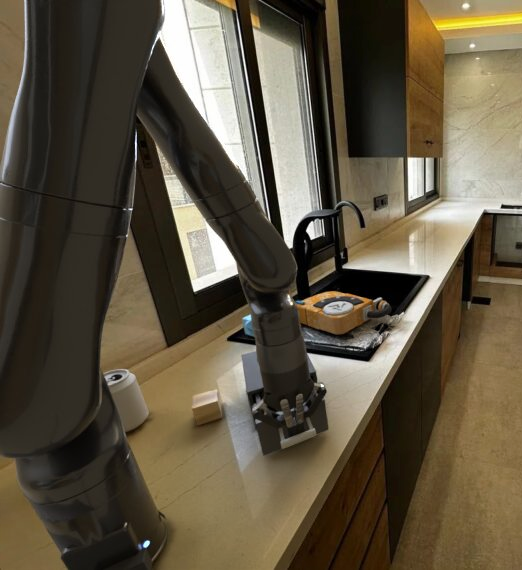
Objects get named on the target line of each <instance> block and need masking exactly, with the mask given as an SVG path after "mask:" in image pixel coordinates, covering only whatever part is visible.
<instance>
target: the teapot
mask: <svg viewBox="0 0 522 570" xmlns="http://www.w3.org/2000/svg"><path fill="white" fill-rule="evenodd" d="M241 320H242V325H243V330H244V334H245V335H247V336H251V337H254V338H255V336H254V331H253V327H252V321H251V313H250V314H249V315H246V316H244V317H242V318H241Z"/></svg>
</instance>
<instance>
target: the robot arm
mask: <svg viewBox="0 0 522 570" xmlns="http://www.w3.org/2000/svg"><path fill="white" fill-rule="evenodd" d="M23 1H24V51H23V64H22V73H21V78H20V82H19V85H18V89H17V92H16V96H15V100H14V103H13V107H12V110H11V114H10V117H9V122H8V126H7V131H6V135H5V140H4V146H3V150H2V156H1V161H0V457H1V458H6V459H13V461H14V466H15V467H14V468H15V475H16V482H17V485H18V487H19V489H20V490H21V492H22V493H23V495H24V497H25V499H26V500H27V501H28V503H29V504H30V505H31V507H32V509H33V510H34V513H36V515H37V517H38V519H39V520H40V522H41V523H42V525H43V527H44V529H45V530H46V531H47V533H48V534H49V536H50V537H51V539H52V541H53V543H54V544H55V546H56V547H57V549H58V550H59V552H60V553H61V554H60V560H61V561H62V563H63V564H64V567H65V568H66V569H67V570H152V568H153V564H154V562H156V560H157V559H158V557H159V556H160V555H161V553H162V551H163V550H164V548H165V547H166V543H167V540H168V528H167V526H166V523H165V522H164V521H163V519H164V520H167V518H166V515H165V514H164V513H163V512H161V511H160V510H159V509H158V507H157V505H156V503H155V500H154V498H153V495H152V494H151V491H150V490H149V486H148V484H147V482H146V480H145V477H144V475H143V473H142V469H141V468H140V466H139V464H138V461H137V458H136V456H135V453H134V452H133V450H132V447H131V445H130V442H129V440H128V437H127V434H126V433H125V430H124V427H123V423H122V420H121V417H120V414H119V411H118V409H117V406H116V404H115V401H114V399H113V396H112V394H111V391H110V389H109V386H108V384H107V381H106V379H105V377H104V374H103V373H104V372H103V370H102V368H101V353H102V351H101V350H102V338H103V330H104V325H105V320H106V316H107V312H108V309H109V306H110V304H111V301H112V297H113V295H114V291H115V288H116V285H117V282H118V279H119V274H120V271H121V267H122V263H123V258H124V254H125V251H126V250H125V248H126V246H127V241H128V238H129V231H130V224H131V219H132V212H133V207H134V201H135V188H136V187H135V186H136V174H137V118H138V119H139V120H140V123H142V125H143V127H145V129H146V131H147V133H148V134H149V135H150V137H151V138H152V140H153V142H154V143H155V145H156V146H157V148H158V149H159V151H160V153H161V154H162V156H163V157H164V159H165V160H166V162H167V163H168V166H169V167H170V168H171V170H172V171H173V173H174V175H175V177H176V178H177V180H178V181H179V184H180V185H181V186H182V188H183V189H184V190H185V192H186V194H187V195H188V196H189V198H190V200H191V201H192V203H193V204H194V206H195V207H196V208H197V211H199V212H200V214H201V216H202V217H203V219H204V220H205V222H206V224H207V225H208V226H209V227H210V228H211V230H212V231H213V232H214V233H215V234H216V235H217V236H218V237H219V238H220V239H221V240H222V241H223V243H224V245H225V246H226V248H227V249H228V251H229V253H230V255H231V256H232V258H233V259H234V261H235V262H236V263H235V265H236V270H237V274H238V278H239V281H240V285H241V287H242V291H243V294H244V296H245V299H246V302H247V306H248V308H249V313H250V314H251V321H252V327H253V331H254V336H255V337H254V336H253V337H254V340H255V351H256V354H257V361H258V364H259V368H260V373H261V378H262V383H263V387H264V392H263V394H262V398H263V399H262V400H261V401H260V402H259V403H258V404H253V405H252V407H251V408H250V410H251V409H252V412H251V415H252V414H253V416H252V419H253V418H255V419H257V420H259V421H261V422H264V423H266V424H268V425H270V426H272V427H275V428H277V429H279V428H281V427H282V426H286V427H287V432H288V436H289V438H290V437H293V436H295V435H298V434H300V433H303V432H305V428H304V422H303V421H304V419H305V418H306V417H311V416H312V415H313V414H314V412H315V411H316V409H317V407H318V406H319V404H320V402H321V401H322V399H323V398H324V399H325V396H326V395H327V393H328V389H327V388H326V385H325V384H324V383H323V382H322V381H319V382H318V384H317V383H314V382H313V380H312V378H311V377H310V372H309V366H308V359H307V354H308V352H307V346H306V341H305V337H304V334H303V329H302V323H301V322H300V316H299V311H298V307H297V305H296V303H295V302H296V301H295V299H294V298H293V296H292V294H291V292H290V288H291V287H292V286H293V285H294V284H295V283H296V282H295V281H296V279H297V276H298V264H297V261H296V259H295V256H294V254H293V252H292V251H291V249H290V247H289V246H288V244H287V243H286V241H285V240H284V239H283V237H282V235H281V234H280V233H279V231H278V230H277V229H276V227H275V226H274V224H273V223H272V222H271V220H270V219H269V217H268V216H267V214H266V213H265V211H264V209H263V207H262V205H261V203H260V201H259V199H258V196H257V195H256V193H255V192H254V190H253V188H252V186H251V184H250V183H249V180H248V179H247V176H246V175H245V173H244V172H243V170H242V168H241V167H240V165H239V164H238V162H237V161H236V159H235V157H234V156H233V155H232V153H231V152H230V150H229V149H228V147H227V146H226V145H225V144H224V142H223V141H222V140H221V138H220V137H219V136H218V134H217V133H216V131H215V130H214V129H213V128H212V127H211V125H210V123H208V120H206V118H205V117H204V116H203V114H202V113H201V111H200V109H199V108H198V107H197V105H196V104H195V102H194V100H193V99H192V97H191V95H190V94H189V92H188V90H187V89H186V87H185V85H184V84H183V81H182V79H181V78H180V76H179V74H178V72H177V70H176V67H175V65H174V63H173V61H172V59H171V56H170V53H169V51H168V49H167V46H166V43H165V42H164V39H163V36H162V34H161V33H162V30H163V27H164V23H165V20H166V19H165V18H166V8H165V7H166V6H165V1H164V0H23ZM311 392H312V394H311V395H310V393H311ZM309 395H310V397H309ZM308 397H309V398H308ZM307 398H308V400H307ZM306 400H307V402H306ZM305 402H306V403H305ZM304 403H305V405H304V407H303V404H304ZM267 405H268V406H270V407H272V408H274V409H275V410H277V411H280V412H283V414H284V415H283V416H280V415H279V414H277V413H275V412H273V411H271V410H269V409H268V406H267ZM293 408H294V418H292V414H291V411H290V410H291V409H293ZM162 518H163V519H162Z"/></svg>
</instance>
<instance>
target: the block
mask: <svg viewBox="0 0 522 570" xmlns="http://www.w3.org/2000/svg"><path fill="white" fill-rule="evenodd" d="M191 411H192V413H193V416H194V420H195V422H196V425H197V426H200V425H204V424H207V423H210V422H213V421H216V420H219V419H221V418H223V404H222V400H221V397H220V394H219V389H218V388H215V389H211V390H208V391H205V392H202V393H197V394H194V395H193V396H192V403H191Z"/></svg>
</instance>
